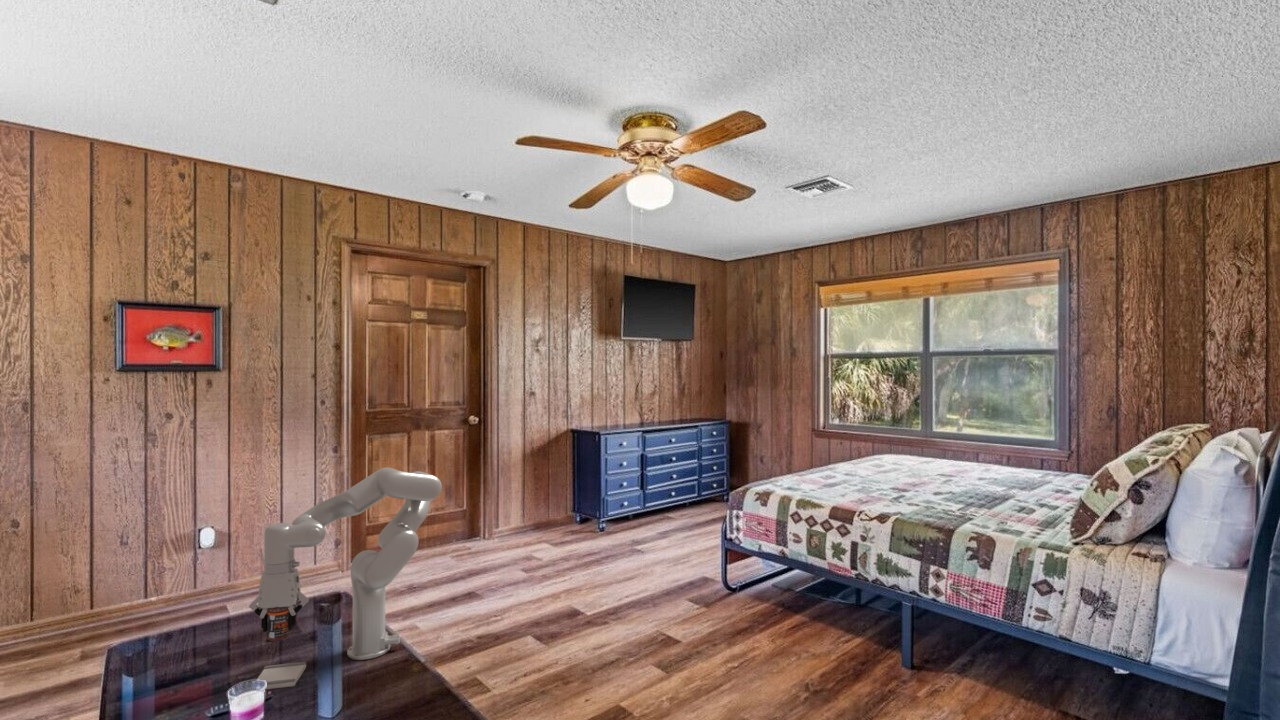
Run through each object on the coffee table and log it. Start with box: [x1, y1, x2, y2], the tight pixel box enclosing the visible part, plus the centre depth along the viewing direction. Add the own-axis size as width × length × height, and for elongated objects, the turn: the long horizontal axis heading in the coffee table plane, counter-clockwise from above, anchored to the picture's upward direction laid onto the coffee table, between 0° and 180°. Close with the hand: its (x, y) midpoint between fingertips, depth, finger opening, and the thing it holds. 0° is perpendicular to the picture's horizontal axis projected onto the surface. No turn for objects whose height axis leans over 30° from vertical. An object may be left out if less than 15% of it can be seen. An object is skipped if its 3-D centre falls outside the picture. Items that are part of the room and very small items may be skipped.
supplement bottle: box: [266, 607, 292, 642], centre depth 176 cm, size 6×6×11 cm
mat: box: [255, 661, 307, 690], centre depth 176 cm, size 11×11×2 cm
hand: (279, 628), depth 176 cm, fingers closed on supplement bottle, 6 cm apart
